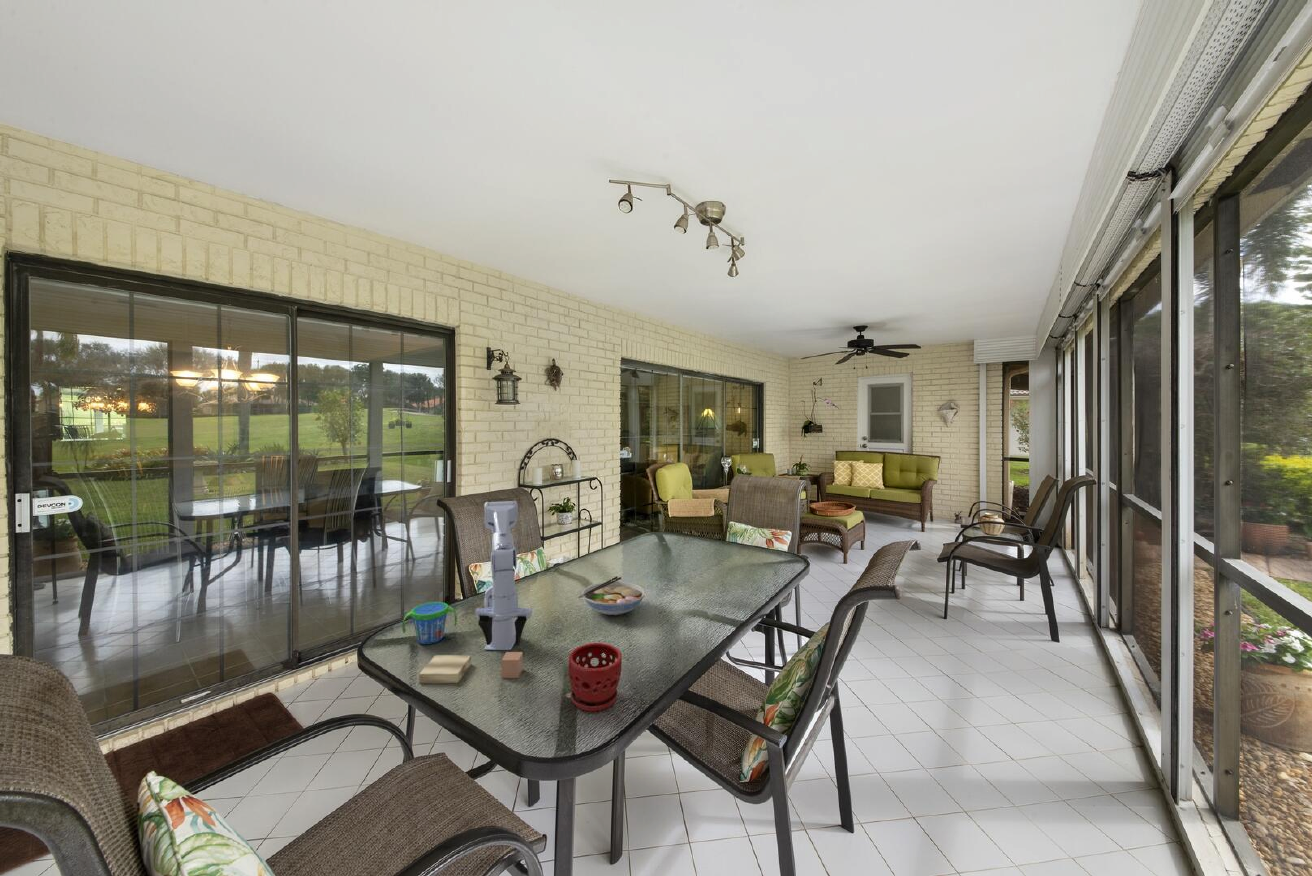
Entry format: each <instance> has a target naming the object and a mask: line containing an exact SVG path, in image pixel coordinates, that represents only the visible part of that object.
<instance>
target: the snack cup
mask: <svg viewBox="0 0 1312 876" xmlns="http://www.w3.org/2000/svg"><path fill="white" fill-rule="evenodd" d="M448 612H453V615H454V627H456V625H457V623H458V613H457V611H456V610H455V609H454V608H453V607H452V606H450V605H448V603H445V602H443V601H433V602H432V601H431V602H426V603H422V604H419V605H417V606H414V608H412V609H411V610H410V611H409V612H407V613H406V615H405V616H404V618H403V620H402V625H401V629H402V633H403V634H406V626H405V625H406V624H405V620H406V619H407V618H408V617H411V619H412V622H413V626H414V632H415V636H416V640H417V642H418V643H419V644H422V645H430V644H435V643H438V642H439V641H441V640H442V639H443V638H444V636H445V629H446V622H447V621H446V620H447V613H448Z"/></svg>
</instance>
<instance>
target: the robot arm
mask: <svg viewBox="0 0 1312 876" xmlns="http://www.w3.org/2000/svg"><path fill="white" fill-rule="evenodd" d="M518 506H519V505H518V502H517V501H516V500H511V501H509V500H507V501H490V502H489V501H486V502H485V503H484V511H483V512H484V515H483V518H484V526H485V529H487V530H490V531H491V533H492V536H491V549H492V550H491V552H490V569H491V580H492V583H491V584H492V585H491V586H489V587H488V588H487V589H486V590H485V592H484V607H479V608H476V609H475V613H474V614H475V619H478V621H477V623H478V626H479V628H480V629H481V631H482V632H483V635H484V638H485V641H486V645H485V647H484V650H485V651H510V650H512V648H513V647H514V645H515V646H519V645H520V643H521V638H522V635H523V634H522V633H523V631H524V628H525V626H526V623H527V621H528V620H530V619H531V617H532V608H526V607H519V594H518V589H517V587H516V580H515V579H516V574H515V573H516V571H517V570H516V569H517V565H518V564H517V563H518V557H517V556H518V554H517V550H516V546H515V543H514V535H513V533H512V532H511V531H510V530H512V529H513V528H516V525H517V520H518V512H519V511H518V510H519V509H518V508H519V507H518Z"/></svg>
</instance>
